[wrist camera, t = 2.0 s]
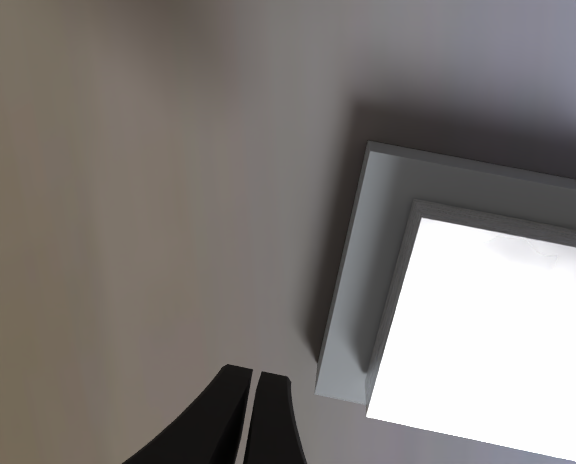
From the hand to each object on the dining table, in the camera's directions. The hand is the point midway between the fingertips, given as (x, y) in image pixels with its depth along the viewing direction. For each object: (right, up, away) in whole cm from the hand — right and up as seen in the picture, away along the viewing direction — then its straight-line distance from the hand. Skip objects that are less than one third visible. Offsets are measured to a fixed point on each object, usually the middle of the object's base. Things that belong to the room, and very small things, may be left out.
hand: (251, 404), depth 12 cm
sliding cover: (+8, +1, +6) cm, 10 cm away
